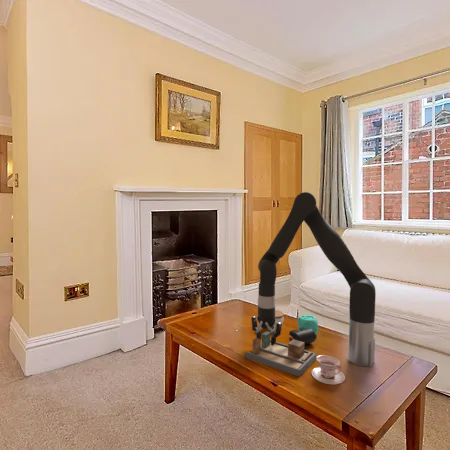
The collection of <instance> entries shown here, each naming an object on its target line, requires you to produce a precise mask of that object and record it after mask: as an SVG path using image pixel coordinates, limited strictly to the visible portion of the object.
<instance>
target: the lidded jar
mask: <svg viewBox="0 0 450 450" xmlns="http://www.w3.org/2000/svg"><path fill="white" fill-rule="evenodd" d="M284 316H285V313H284V312H283V311H281V310H277V309H275V320H276V322H281V323H282V325H283V323H284V318H285V317H284ZM275 326H276V325H275V324H274V327H275ZM271 329H272V328H271ZM275 331H276V327H275Z"/></svg>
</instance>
